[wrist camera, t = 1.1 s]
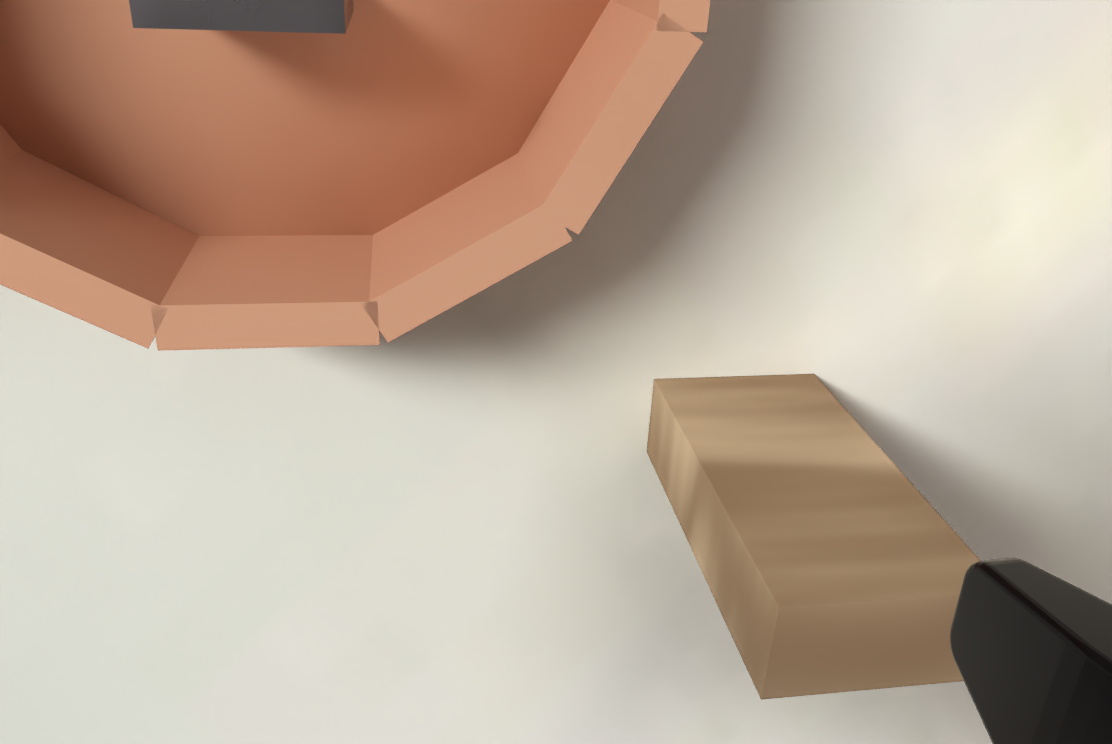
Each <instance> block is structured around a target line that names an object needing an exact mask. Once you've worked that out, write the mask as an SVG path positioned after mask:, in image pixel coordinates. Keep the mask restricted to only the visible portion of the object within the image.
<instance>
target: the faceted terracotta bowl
mask: <svg viewBox="0 0 1112 744" xmlns="http://www.w3.org/2000/svg"><path fill="white" fill-rule="evenodd" d="M353 8H354V12H353V14H352V17H351V20H350V23H349V26H348V29H347V31H346V34H336V33H299V32H262V31H225V30H189V29H152V28H133V24H132V18H131V11H130V5H129V0H0V285H3V286H5V287H7V288H10V289H12V290H14V291H17V292H19V293H21V294H24V295H26V296H28V297H30V298H33V299H35V300H37V301H40V302H42V303H44V304H47V305H49V306H51V307H54V308H56V309H58V310H60V311H63V312H65V313H67V314H70V315H72V316H74V317H77V318H79V319H81V320H84V321H86V322H88V323H90V324H93V325H95V326H97V327H100V328H102V329H104V330H107V331H109V332H111V333H114V334H116V335H118V336H121V337H123V338H125V339H127V340H130V341H132V342H134V343H137V344H139V345H141V346H144V347H146V348H148V349H149V347H150V345H151V343H152V341H153V339H154V337H155V336H156V342H157V348H158V350H195V349H234V348H274V347H313V346H353V345H380V332H381V334H382V335H383V336H384V338H385V339H386V341H387V342H390V341H392V340H393V339H395V338H397V337H399V336H401V335H403V334H404V333H406V332H408V331H410V330H412V329H413V328H415V327H417V326H419V325H421V324H422V323H424V322H426V321H428V320H430V319H432V318H433V317H435V316H437V315H439V314H441V313H442V312H444V311H446V310H448V309H450V308H451V307H453V306H455V305H457V304H459V303H460V302H462V301H464V300H466V299H468V298H470V297H471V296H473V295H475V294H477V293H479V292H480V291H482V290H484V289H486V288H488V287H489V286H491V285H493V284H495V283H497V282H499V281H500V280H502V279H504V278H506V277H508V276H509V275H511V274H513V273H515V272H517V271H518V270H520V269H522V268H524V267H526V266H528V265H529V264H531V263H533V262H535V261H537V260H538V259H540V258H542V257H544V256H546V255H547V254H549V253H551V252H553V251H555V250H556V249H558V248H560V247H562V246H564V245H566V244H567V243H569V242H571V241H572V239H571V237H570V235H569V234H568V232H567V230H566V228H568V229H569V230H571V231H573V232H575V233H576V234H578V235H579V234H580V232H581V230H582V229H583V227H584V226H585V224H586V223H587V221H588V220H589V218H590V217H591V215H592V213H593V212H594V210H595V209H596V207H597V206H598V204H599V203H600V201H601V200H602V198H603V196H604V195H605V193H606V192H607V190H608V189H609V187H610V186H611V184H612V183H613V181H614V179H615V178H616V176H617V175H618V173H619V172H620V170H621V169H622V167H623V166H624V164H625V162H626V161H627V159H628V158H629V156H630V155H631V153H632V152H633V150H634V149H635V147H636V145H637V144H638V142H639V141H640V139H641V138H642V136H643V135H644V133H645V132H646V130H647V128H648V127H649V125H650V124H651V122H652V121H653V119H654V118H655V116H656V115H657V113H658V111H659V110H660V108H661V107H662V105H663V104H664V102H665V101H666V99H667V98H668V96H669V94H670V93H671V91H672V90H673V88H674V87H675V85H676V84H677V82H678V81H679V79H680V77H681V76H682V74H683V73H684V71H685V70H686V68H687V67H688V65H689V64H690V62H691V60H692V59H693V57H694V56H695V54H696V53H697V51H698V50H699V48H700V47H701V45H702V43H703V41H701V40H700V39H699V38H697V37H696V36H694V35H693V34H692V33H690V32H707V26H708V17H709V8H710V0H353ZM565 227H566V228H565Z"/></svg>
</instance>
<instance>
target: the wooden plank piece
mask: <svg viewBox="0 0 1112 744" xmlns="http://www.w3.org/2000/svg"><path fill="white" fill-rule="evenodd" d="M647 453H648V455H649V458H650V460H651V462H652V464H653V466H654V468H655V471H656V473H657V475H658V477H659V479H660V481H661V484H662V486H663V488H664V490H665V492H666V494H667V497H668V499H669V501H670V503H671V505H672V507H673V510H674V512H675V514H676V516H677V518H678V520H679V523H680V525H681V527H682V529H683V531H684V533H685V536H686V538H687V540H688V542H689V544H690V546H691V549H692V551H693V553H694V555H695V557H696V559H697V562H698V564H699V566H700V568H701V570H702V572H703V575H704V577H705V579H706V581H707V583H708V585H709V588H710V590H711V592H712V594H713V596H714V598H715V601H716V603H717V605H718V607H719V609H720V611H721V613H722V616H723V618H724V620H725V622H726V624H727V626H728V629H729V631H730V633H731V635H732V637H733V639H734V642H735V644H736V646H737V648H738V650H739V652H740V655H741V657H742V659H743V661H744V663H745V665H746V668H747V670H748V672H749V674H750V676H751V678H752V681H753V683H754V685H755V687H756V689H757V691H758V694H759V696H760V698H761V699H771V698H782V697H793V696H804V695H815V694H826V693H836V692H847V691H858V690H869V689H880V688H891V687H902V686H913V685H924V684H935V683H946V682H957V681H964V680H963V677H962V675H961V673H960V671H959V669H958V667H957V664H956V662H955V660H954V657H953V654H952V650H951V644H950V630H951V625H952V621H953V618H954V614H955V610H956V606H957V602H958V599H959V595H960V591H961V587H962V583H963V580H964V576H965V573H966V571H967V569H968V568H969V567H970V566H971V565H972V564H973V563H976V562H978V561H980V560H979V559H978V557H977V556H976V555H975V554H974V553H973V552H972V551H971V550H970V548H969V547H968V546H967V545H966V544H965V543H964V542H963V541H962V539H961V538H960V537H959V536H958V535H957V534H956V533H955V532H954V530H953V529H952V528H951V527H950V526H949V525H948V524H947V523H946V521H945V520H944V519H943V518H942V517H941V516H940V515H939V514H938V513H937V511H936V510H935V509H934V508H933V507H932V506H931V505H930V504H929V502H928V501H927V500H926V499H925V498H924V497H923V496H922V495H921V493H920V492H919V491H918V490H917V489H916V488H915V487H914V486H913V484H912V483H911V482H910V481H909V480H908V479H907V478H906V477H905V475H904V474H903V473H902V472H901V471H900V470H899V469H898V468H897V466H896V465H895V464H894V463H893V462H892V461H891V460H890V459H889V457H888V456H887V455H886V454H885V453H884V452H883V451H882V450H881V449H880V447H879V446H878V445H877V444H876V443H875V442H874V441H873V440H872V438H871V437H870V436H869V435H868V434H867V433H866V432H865V431H864V429H863V428H862V427H861V426H860V425H859V424H858V423H857V422H856V420H855V419H854V418H853V417H852V416H851V415H850V414H849V413H848V411H847V410H846V409H845V408H844V407H843V406H842V405H841V404H840V402H839V401H838V400H837V399H836V398H835V397H834V396H833V395H832V393H831V392H830V391H829V390H828V389H827V388H826V387H825V386H824V385H823V383H822V382H821V381H820V380H819V379H818V378H817V377H816V376H815V374H797V375H766V376H736V377H705V378H675V379H654V387H653V396H652V406H651V416H650V425H649V435H648V445H647Z"/></svg>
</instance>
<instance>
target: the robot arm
mask: <svg viewBox="0 0 1112 744" xmlns="http://www.w3.org/2000/svg"><path fill="white" fill-rule="evenodd" d="M950 644H951V650H952V654H953V657H954V660H955V662H956V664H957V667H958V669H959V671H960V673H961V675H962V677H963V680H964V682H965V684H966V686H967V688H968V691H969V693H970V695H971V697H972V699H973V701H974V704H975V706H976V708H977V710H978V712H979V715H980V717H981V719H982V721H983V723H984V725H985V728H986V730H987V732H988V734H989V736H990V739H991V741H992V743H993V744H1112V605H1111V604H1109V603H1107V602H1105V601H1103V600H1101V599H1099V598H1098V597H1096V596H1094V595H1092V594H1090V593H1088V592H1086V591H1084V590H1082V589H1080V588H1078V587H1076V586H1074V585H1072V584H1070V583H1068V582H1066V581H1064V580H1062V579H1060V578H1058V577H1056V576H1054V575H1052V574H1050V573H1048V572H1046V571H1044V570H1042V569H1040V568H1038V567H1036V566H1034V565H1032V564H1030V563H1028V562H1026V561H1023V560H1021V559H1016V558H1005V559H995V560H985V561H978V562H976V563H973V564H972V565H971V566H970V567H969V568H968V569H967V571H966V573H965V576H964V580H963V583H962V587H961V591H960V595H959V599H958V602H957V606H956V610H955V614H954V618H953V621H952V625H951V630H950Z"/></svg>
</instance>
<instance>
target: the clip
mask: <svg viewBox="0 0 1112 744" xmlns="http://www.w3.org/2000/svg"><path fill="white" fill-rule="evenodd" d="M129 5H130V11H131V18H132V24H133V28H152V29H189V30H225V31H262V32H299V33H336V34H346V31H347V29H348V26H349V23H350V20H351V17H352V14H353V12H354V8H353V0H129Z"/></svg>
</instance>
